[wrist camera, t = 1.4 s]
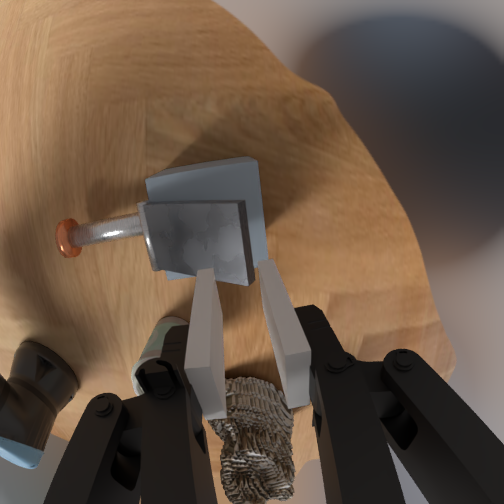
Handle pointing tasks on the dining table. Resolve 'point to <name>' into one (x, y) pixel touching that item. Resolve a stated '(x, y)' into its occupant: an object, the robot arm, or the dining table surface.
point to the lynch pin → (95, 232)
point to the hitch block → (216, 193)
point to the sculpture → (255, 442)
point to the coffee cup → (154, 346)
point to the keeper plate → (199, 238)
